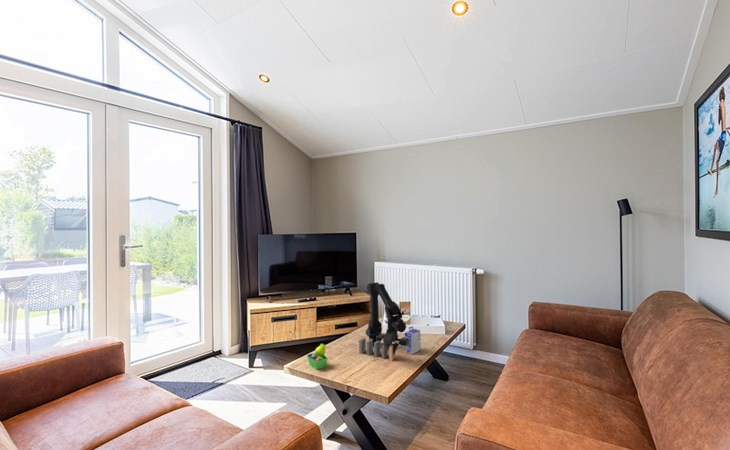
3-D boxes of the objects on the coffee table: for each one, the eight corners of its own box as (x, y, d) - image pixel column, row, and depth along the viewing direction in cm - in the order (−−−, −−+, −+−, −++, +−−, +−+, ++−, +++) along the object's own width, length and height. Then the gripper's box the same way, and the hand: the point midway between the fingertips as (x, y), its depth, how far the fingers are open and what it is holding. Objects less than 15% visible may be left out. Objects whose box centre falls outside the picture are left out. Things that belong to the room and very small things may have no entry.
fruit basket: (306, 364, 188) (306, 343, 188) (320, 360, 193) (320, 340, 193) (315, 371, 179) (315, 350, 179) (330, 367, 184) (330, 346, 184)
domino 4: (385, 355, 200) (385, 341, 199) (387, 355, 199) (387, 342, 199) (381, 358, 195) (381, 344, 195) (384, 358, 194) (384, 344, 194)
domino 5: (392, 357, 197) (392, 343, 197) (395, 357, 196) (395, 343, 196) (389, 360, 193) (389, 346, 192) (391, 360, 192) (391, 346, 192)
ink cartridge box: (413, 347, 211) (413, 324, 211) (421, 350, 207) (421, 326, 207) (404, 352, 204) (404, 328, 204) (411, 354, 200) (411, 330, 200)
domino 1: (363, 350, 207) (363, 337, 207) (365, 350, 206) (365, 337, 206) (359, 353, 203) (359, 340, 203) (361, 353, 202) (361, 340, 202)
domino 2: (370, 351, 205) (370, 338, 204) (372, 352, 204) (372, 339, 204) (366, 354, 200) (366, 341, 200) (368, 355, 199) (368, 341, 199)
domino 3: (377, 353, 202) (377, 340, 202) (380, 354, 201) (380, 340, 201) (374, 356, 198) (373, 342, 198) (376, 357, 197) (376, 343, 197)
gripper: (371, 328, 192) (371, 355, 192) (401, 333, 183) (401, 362, 183) (380, 323, 202) (380, 349, 202) (409, 328, 192) (409, 355, 193)
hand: (392, 354), depth 195 cm, fingers closed on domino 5, 2 cm apart
